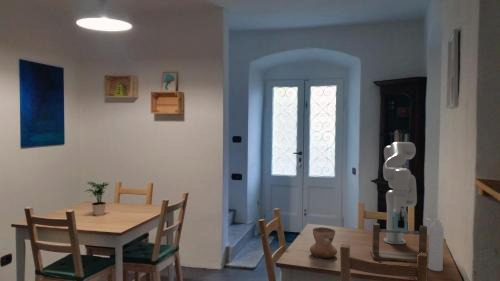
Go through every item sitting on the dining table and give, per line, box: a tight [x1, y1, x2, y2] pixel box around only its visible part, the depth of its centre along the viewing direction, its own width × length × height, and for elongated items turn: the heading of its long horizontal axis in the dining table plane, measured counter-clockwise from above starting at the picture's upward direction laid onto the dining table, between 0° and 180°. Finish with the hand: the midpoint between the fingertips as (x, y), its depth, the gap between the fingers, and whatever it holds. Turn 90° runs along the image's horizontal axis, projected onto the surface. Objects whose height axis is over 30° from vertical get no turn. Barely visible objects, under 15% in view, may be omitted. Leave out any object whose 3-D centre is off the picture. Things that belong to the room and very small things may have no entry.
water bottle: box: [425, 217, 445, 272], centre depth 198 cm, size 9×6×25 cm
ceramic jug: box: [309, 226, 338, 259], centre depth 217 cm, size 18×14×14 cm
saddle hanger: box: [392, 210, 409, 232], centre depth 214 cm, size 6×6×10 cm
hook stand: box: [369, 222, 428, 263], centre depth 215 cm, size 12×28×18 cm, turn 82°
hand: (399, 226), depth 214 cm, fingers closed on saddle hanger, 6 cm apart
